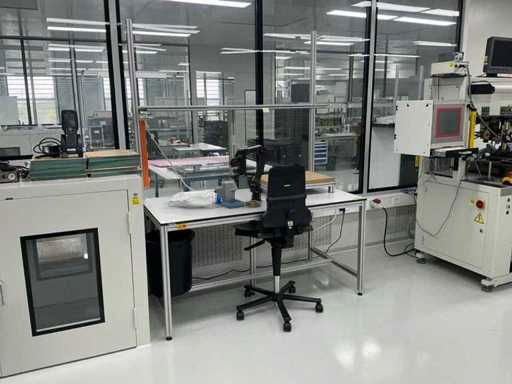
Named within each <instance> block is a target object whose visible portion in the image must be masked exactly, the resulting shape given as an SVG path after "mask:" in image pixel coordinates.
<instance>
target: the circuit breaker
mask: <svg viewBox="0 0 512 384" xmlns="http://www.w3.org/2000/svg"><path fill="white" fill-rule="evenodd" d="M220 183H221V185H220V186H215V187H214V188H215V189H214V191H213V193H214V192H215V193H217V194H218V195H220V196H221V198H222V201H226V200H231V191H230V189H235V184H234V183H235V182H233V180H223V181H220ZM215 193H214V194H215ZM221 198H220V199H221Z"/></svg>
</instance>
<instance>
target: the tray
mask: <svg viewBox="0 0 512 384" xmlns="http://www.w3.org/2000/svg"><path fill="white" fill-rule="evenodd" d="M220 201H221V200H220ZM220 204H221V206H222V205H223V206H222V207H225V208H227V209H233V208H240V207H245V201H244V200H241V199H238V198H235V203H233V204H231V200H226V201H221V202H220Z"/></svg>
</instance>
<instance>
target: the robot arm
mask: <svg viewBox="0 0 512 384" xmlns="http://www.w3.org/2000/svg"><path fill="white" fill-rule="evenodd" d="M256 152H257V154H258V159H259V162H258V165H257V168H256V172H255V171H247V169H248V167H247V160H249V157H248V156H249V155H250V154H254V153H256ZM271 156H272V155H271V152H270V151H269V149H267V148H266V147H264V146H263V145H260V144H257V145H254V146H250V147H239V148H237V150H236V153H235V154H234V156H233V157H231V160H230V161H229V166H230V168H232V169H231V170H232V171H231V172H232V173H230V175H229V178H230V179H231V180H232V181H234V183H235V186H236V188H239V186H240V178H241V177H246V178H247V179H246V180H247V183H246V184H247V187H248V188H249V192H250V193H251V199H250V201H252V200H256V201H259V202H262V201H263V199H262V194H263V192H264V189H263V188H262V181H261V179H262V176H263V174H264V171H265V167H266V164H267V162H269V160H270V159H271Z"/></svg>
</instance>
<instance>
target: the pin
mask: <svg viewBox="0 0 512 384" xmlns="http://www.w3.org/2000/svg"><path fill="white" fill-rule="evenodd" d="M236 190H237V189H236V188H233V189H230V191H231V204H233V203H235V199H236Z"/></svg>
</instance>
